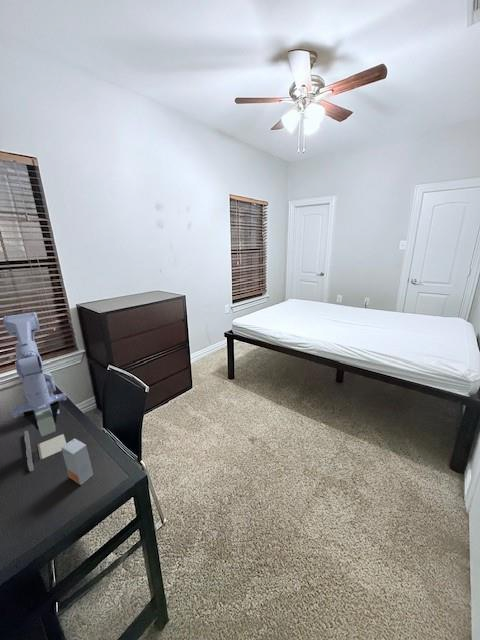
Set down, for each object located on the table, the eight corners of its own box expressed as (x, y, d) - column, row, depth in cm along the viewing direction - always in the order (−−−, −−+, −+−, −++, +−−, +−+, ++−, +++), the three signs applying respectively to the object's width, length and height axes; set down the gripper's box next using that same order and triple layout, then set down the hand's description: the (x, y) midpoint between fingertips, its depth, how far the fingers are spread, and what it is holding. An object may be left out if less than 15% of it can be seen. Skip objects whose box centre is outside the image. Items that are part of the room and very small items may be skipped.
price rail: (24, 435, 99) (23, 431, 99) (28, 433, 100) (27, 430, 100) (29, 472, 84) (28, 468, 83) (33, 470, 84) (32, 466, 84)
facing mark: (37, 445, 95) (37, 444, 94) (63, 434, 100) (63, 433, 99) (40, 460, 88) (40, 459, 88) (67, 447, 93) (67, 447, 93)
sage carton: (41, 436, 88) (36, 421, 86) (39, 427, 92) (35, 413, 91) (56, 430, 91) (52, 416, 89) (53, 422, 95) (50, 408, 93)
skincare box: (68, 478, 81) (60, 446, 78) (82, 467, 85) (74, 437, 81) (80, 486, 79) (72, 454, 75) (94, 475, 82) (86, 444, 79)
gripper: (8, 405, 79) (20, 441, 84) (64, 387, 88) (72, 421, 93) (8, 395, 85) (19, 430, 89) (61, 379, 94) (69, 411, 98)
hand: (46, 424), depth 91 cm, fingers closed on sage carton, 4 cm apart
